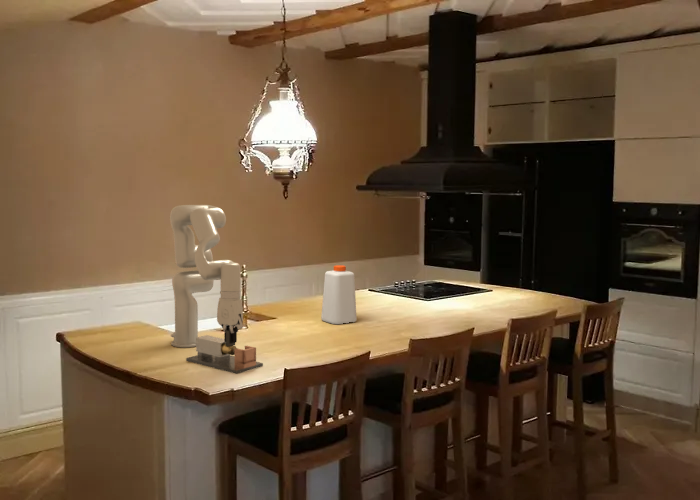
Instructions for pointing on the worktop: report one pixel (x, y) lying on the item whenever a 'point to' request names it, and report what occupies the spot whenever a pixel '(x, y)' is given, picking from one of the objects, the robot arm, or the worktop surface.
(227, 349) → the sliding bolt with handle
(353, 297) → the plastic bottle
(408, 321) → the worktop surface
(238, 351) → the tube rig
